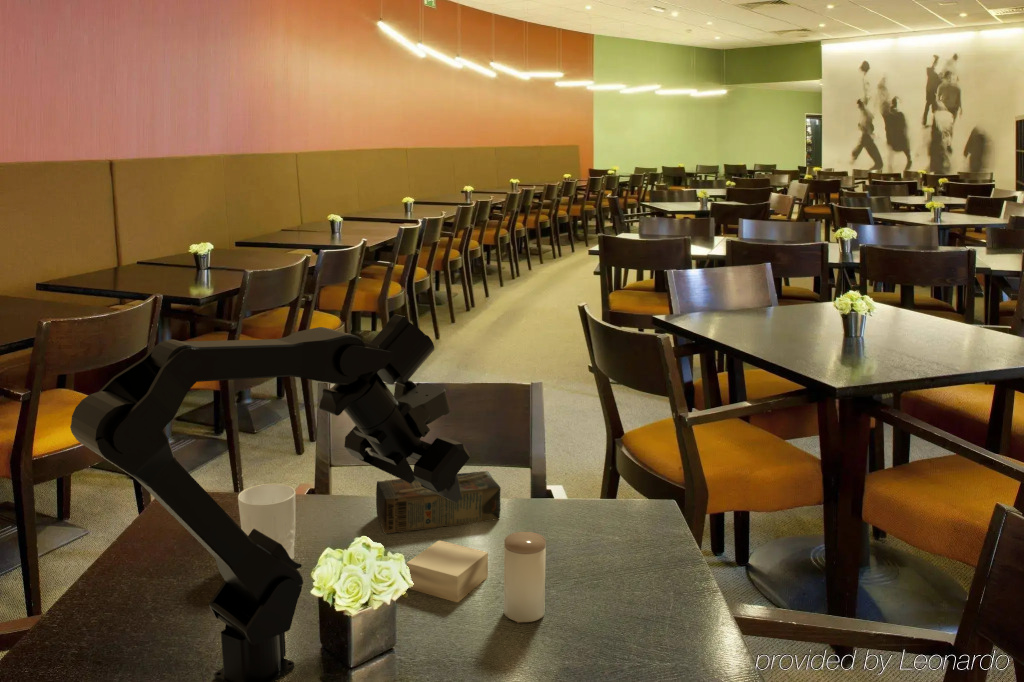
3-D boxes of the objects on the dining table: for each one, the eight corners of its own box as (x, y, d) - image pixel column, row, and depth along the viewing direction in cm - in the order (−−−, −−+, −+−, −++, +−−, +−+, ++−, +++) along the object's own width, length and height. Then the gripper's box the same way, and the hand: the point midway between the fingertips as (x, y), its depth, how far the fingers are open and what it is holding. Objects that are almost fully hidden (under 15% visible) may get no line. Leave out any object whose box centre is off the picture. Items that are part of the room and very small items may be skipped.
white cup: (283, 574, 125) (280, 507, 123) (231, 568, 127) (227, 502, 125) (307, 549, 133) (304, 485, 131) (257, 544, 134) (254, 481, 132)
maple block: (457, 604, 118) (457, 576, 117) (407, 590, 122) (406, 562, 121) (487, 579, 125) (487, 552, 124) (439, 566, 129) (438, 540, 128)
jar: (513, 627, 112) (514, 552, 110) (497, 608, 117) (498, 535, 114) (551, 619, 114) (552, 545, 112) (534, 600, 119) (535, 529, 116)
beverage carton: (502, 521, 143) (502, 482, 142) (383, 537, 138) (382, 497, 136) (488, 502, 151) (487, 465, 149) (374, 517, 145) (372, 478, 143)
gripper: (467, 378, 105) (521, 461, 114) (372, 351, 118) (427, 428, 127) (407, 448, 100) (468, 530, 110) (315, 413, 113) (377, 488, 122)
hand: (435, 489), depth 117 cm, fingers open, 9 cm apart
